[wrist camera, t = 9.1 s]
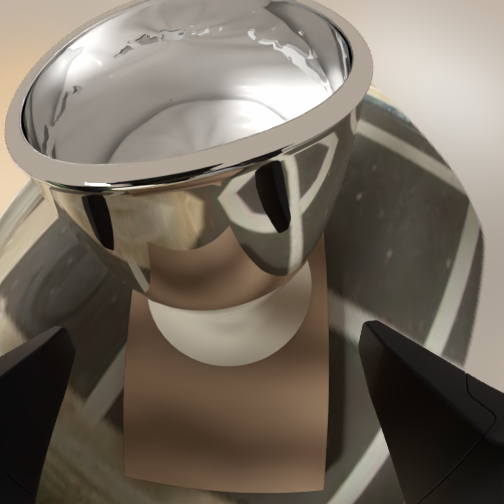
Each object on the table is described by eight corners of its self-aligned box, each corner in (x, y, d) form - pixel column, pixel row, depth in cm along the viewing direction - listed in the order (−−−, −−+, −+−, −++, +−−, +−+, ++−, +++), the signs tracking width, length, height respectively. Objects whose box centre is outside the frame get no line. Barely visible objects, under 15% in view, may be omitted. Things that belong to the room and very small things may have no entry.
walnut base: (316, 479, 15) (324, 491, 13) (135, 467, 15) (123, 476, 13) (316, 225, 22) (322, 210, 20) (154, 221, 22) (145, 207, 20)
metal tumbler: (296, 243, 19) (365, -1, 5) (277, 356, 16) (416, 264, 2) (189, 224, 19) (112, -6, 6) (159, 330, 17) (-58, 186, 3)
